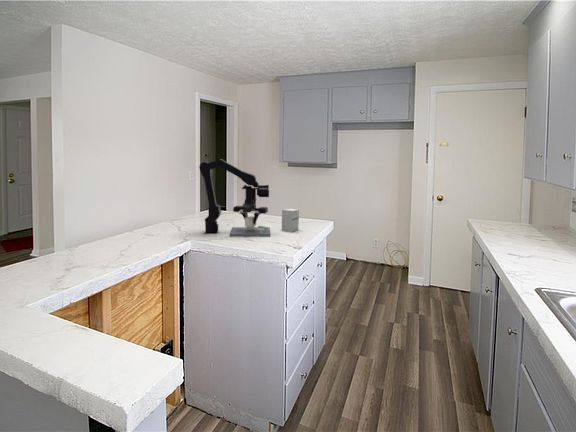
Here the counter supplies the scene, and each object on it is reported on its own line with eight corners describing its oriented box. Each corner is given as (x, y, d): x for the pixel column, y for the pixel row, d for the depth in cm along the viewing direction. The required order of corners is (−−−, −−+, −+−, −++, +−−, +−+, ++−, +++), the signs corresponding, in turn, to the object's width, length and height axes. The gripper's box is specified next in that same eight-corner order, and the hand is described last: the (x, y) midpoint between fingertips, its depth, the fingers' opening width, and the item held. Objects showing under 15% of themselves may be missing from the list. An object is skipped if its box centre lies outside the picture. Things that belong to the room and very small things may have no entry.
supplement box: (291, 232, 212) (291, 210, 209) (281, 230, 216) (281, 209, 214) (298, 230, 218) (299, 209, 215) (288, 228, 222) (289, 207, 220)
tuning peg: (244, 230, 207) (244, 217, 206) (251, 228, 212) (251, 216, 210) (260, 233, 200) (260, 220, 198) (267, 232, 204) (267, 218, 203)
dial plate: (229, 236, 199) (229, 231, 199) (232, 229, 216) (232, 225, 215) (270, 236, 201) (270, 231, 200) (269, 229, 217) (269, 225, 217)
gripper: (229, 198, 199) (229, 226, 202) (262, 199, 195) (262, 228, 198) (236, 195, 209) (236, 222, 212) (268, 197, 206) (268, 224, 208)
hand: (250, 224), depth 207 cm, fingers closed on tuning peg, 4 cm apart
